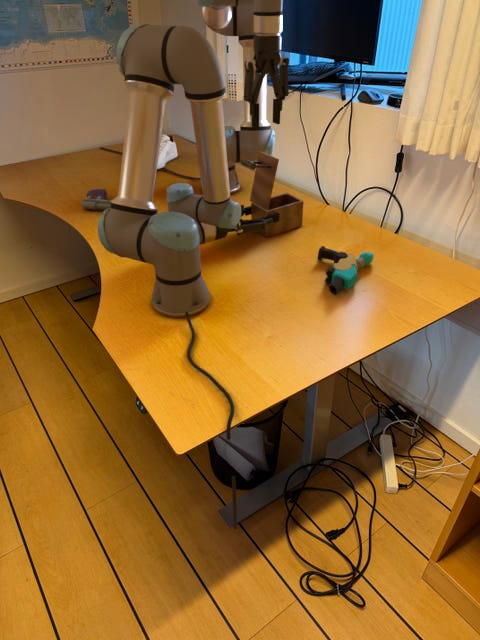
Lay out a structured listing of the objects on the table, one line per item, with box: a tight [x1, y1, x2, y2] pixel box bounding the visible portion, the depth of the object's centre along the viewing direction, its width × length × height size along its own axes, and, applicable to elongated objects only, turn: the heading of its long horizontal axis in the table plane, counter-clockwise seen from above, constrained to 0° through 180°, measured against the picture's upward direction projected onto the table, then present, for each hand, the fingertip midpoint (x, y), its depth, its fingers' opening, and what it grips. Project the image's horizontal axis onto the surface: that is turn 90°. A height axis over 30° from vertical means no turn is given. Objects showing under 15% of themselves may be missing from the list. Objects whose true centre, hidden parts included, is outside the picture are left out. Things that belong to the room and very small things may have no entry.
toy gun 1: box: [80, 188, 112, 211], centre depth 178 cm, size 4×19×15 cm
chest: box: [250, 192, 305, 238], centre depth 159 cm, size 15×9×9 cm, turn 123°
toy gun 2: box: [317, 245, 375, 296], centre depth 134 cm, size 4×26×15 cm
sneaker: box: [157, 133, 179, 170], centre depth 214 cm, size 10×29×12 cm, turn 163°
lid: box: [240, 152, 280, 210], centre depth 147 cm, size 16×9×9 cm
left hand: (269, 211), depth 157 cm, fingers closed on chest, 9 cm apart
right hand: (265, 125), depth 140 cm, fingers open, 7 cm apart
